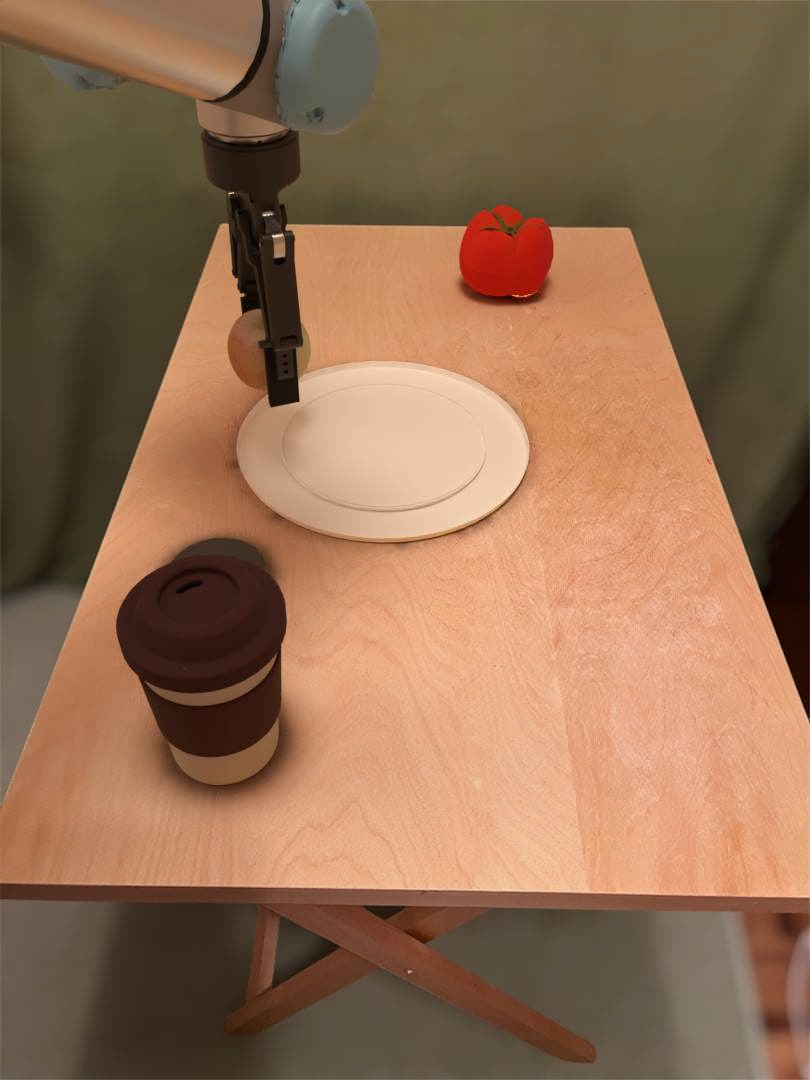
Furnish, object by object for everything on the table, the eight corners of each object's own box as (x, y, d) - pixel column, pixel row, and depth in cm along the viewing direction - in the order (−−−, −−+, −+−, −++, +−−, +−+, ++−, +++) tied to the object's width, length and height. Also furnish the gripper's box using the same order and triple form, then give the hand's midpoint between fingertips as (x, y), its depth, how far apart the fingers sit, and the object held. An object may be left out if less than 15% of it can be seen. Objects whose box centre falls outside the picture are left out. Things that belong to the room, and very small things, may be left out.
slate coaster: (178, 624, 71) (176, 617, 71) (159, 557, 77) (158, 550, 76) (277, 598, 73) (277, 591, 73) (252, 535, 79) (252, 528, 78)
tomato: (438, 284, 113) (442, 213, 106) (511, 259, 118) (519, 190, 112) (494, 320, 106) (502, 247, 100) (569, 292, 112) (580, 221, 106)
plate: (569, 412, 93) (570, 406, 92) (453, 586, 75) (454, 580, 74) (332, 341, 102) (332, 336, 101) (176, 481, 84) (175, 475, 83)
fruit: (266, 352, 90) (259, 277, 84) (326, 376, 87) (323, 300, 81) (213, 387, 85) (203, 310, 80) (275, 414, 82) (268, 336, 77)
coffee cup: (292, 806, 60) (274, 660, 50) (140, 805, 60) (91, 658, 49) (303, 685, 67) (290, 536, 57) (167, 684, 67) (130, 534, 57)
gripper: (337, 169, 64) (344, 431, 80) (262, 82, 78) (281, 320, 94) (232, 182, 62) (261, 449, 78) (175, 90, 76) (209, 333, 92)
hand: (272, 379), depth 86 cm, fingers closed on fruit, 7 cm apart
